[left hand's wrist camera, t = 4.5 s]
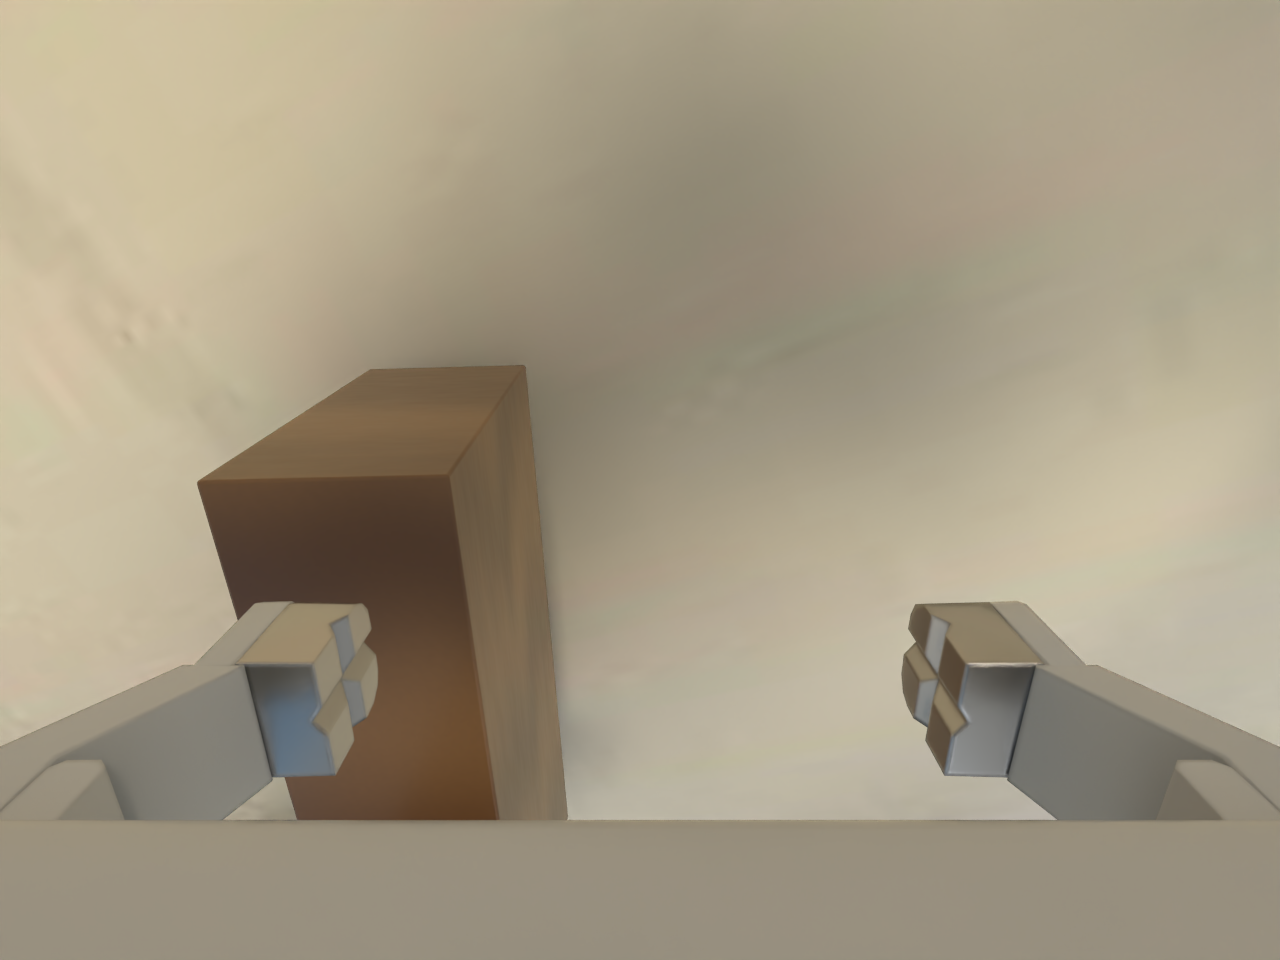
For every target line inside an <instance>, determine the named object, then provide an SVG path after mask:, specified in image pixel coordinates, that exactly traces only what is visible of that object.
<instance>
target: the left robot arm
mask: <svg viewBox="0 0 1280 960" xmlns="http://www.w3.org/2000/svg"><path fill="white" fill-rule="evenodd" d="M371 629H372V627H371V622H370V618H369V613H368V609H367V608H366V607H365V606H364V605H363V604H362V603H332V602H292V601H280V602H260V603H255V604H254V605H253V606H252V607H251V608H250V609H249V610H248V611H247V612H246V613H245V614H244V615H243V616H242V617H241V618H240V619H239V620H238V621H237V622H236V623H235V624H234V625H233V626H232V627H231V628H230V629H229V630H228V631H227V632H226V633H225V634H224V635H223V636H222V637H221V638H220V639H219V640H218V641H217V642H216V643H215V644H214V645H213V646H212V647H211V648H210V649H209V650H208V651H207V652H206V653H205V654H204V655H203V656H202V657H201V658H200V659H199V660H198V662H197V663H196V664H195V665H182V666H180V667H177V668H175V669H173V670H171V671H169V672H166V673H164V674H162V675H160V676H157V677H155V678H153V679H151V680H148V681H146V682H144V683H142V684H139V685H137V686H135V687H133V688H131V689H128V690H126V691H124V692H122V693H119V694H117V695H115V696H113V697H110V698H108V699H106V700H104V701H101V702H99V703H97V704H95V705H93V706H90V707H88V708H86V709H84V710H81V711H79V712H77V713H75V714H72V715H70V716H68V717H66V718H63V719H61V720H59V721H57V722H55V723H52V724H50V725H48V726H46V727H43V728H41V729H39V730H37V731H34V732H32V733H30V734H28V735H25V736H23V737H21V738H19V739H17V740H14V741H12V742H10V743H8V744H5V745H3V746H1V747H0V960H1280V747H1279V746H1276V745H1274V744H1272V743H1270V742H1267V741H1265V740H1263V739H1261V738H1259V737H1256V736H1254V735H1252V734H1250V733H1247V732H1245V731H1243V730H1241V729H1238V728H1236V727H1234V726H1232V725H1230V724H1227V723H1225V722H1223V721H1221V720H1218V719H1216V718H1214V717H1212V716H1209V715H1207V714H1205V713H1203V712H1201V711H1198V710H1196V709H1194V708H1192V707H1189V706H1187V705H1185V704H1183V703H1181V702H1178V701H1176V700H1174V699H1172V698H1169V697H1167V696H1165V695H1163V694H1160V693H1158V692H1156V691H1154V690H1152V689H1149V688H1147V687H1145V686H1143V685H1140V684H1138V683H1136V682H1134V681H1131V680H1129V679H1127V678H1125V677H1123V676H1120V675H1118V674H1116V673H1114V672H1111V671H1109V670H1107V669H1105V668H1102V667H1100V666H1098V665H1085V664H1084V663H1083V661H1082V660H1081V659H1080V658H1079V657H1078V656H1077V655H1076V654H1075V653H1074V652H1073V651H1072V650H1071V649H1070V648H1069V647H1068V646H1067V645H1066V644H1065V643H1064V642H1063V641H1062V640H1061V639H1060V638H1059V637H1058V636H1057V635H1056V634H1055V633H1054V632H1053V631H1052V630H1051V629H1050V628H1049V627H1048V626H1047V625H1046V624H1045V623H1044V622H1043V621H1042V620H1041V619H1040V618H1039V617H1038V616H1037V615H1036V614H1035V613H1034V612H1033V611H1032V610H1031V609H1030V608H1029V607H1028V606H1027V605H1026V604H1024V603H1021V602H1019V601H1005V602H977V603H937V604H915V606H914V608H913V611H912V613H911V616H910V621H909V627H908V629H909V631H910V633H911V634H912V636H913V637H914V639H915V641H916V642H915V644H914V645H913V646H912V647H911V648H910V649H909V650H908V651H907V652H906V653H905V654H904V658H903V666H902V673H901V674H902V685H903V694H904V697H905V700H906V704H907V706H908V708H909V710H910V712H911V714H912V716H913V718H914V719H916V720H917V721H919V722H920V723H922V724H923V725H925V726H926V727H928V728H927V734H926V740H925V741H926V742H927V744H928V746H929V748H930V750H931V752H932V753H933V755H934V757H935V759H936V761H937V763H938V764H939V766H940V768H941V770H942V772H943V774H944V775H945V776H977V777H1008V779H1007V780H1008V781H1009V782H1010V783H1011V784H1013V785H1014V786H1015V787H1017V788H1018V789H1019V790H1020V791H1022V792H1023V793H1024V794H1025V795H1027V796H1028V797H1029V798H1031V799H1032V800H1033V801H1034V802H1036V803H1037V804H1038V805H1039V806H1041V807H1042V808H1043V809H1044V810H1046V811H1047V812H1048V813H1050V814H1051V815H1052V816H1053V817H1055V818H1056V819H1057V820H223V819H224V818H226V817H227V816H228V815H229V814H231V813H232V812H233V811H234V810H236V809H237V808H238V807H240V806H241V805H242V804H243V803H245V802H246V801H247V800H248V799H250V798H251V797H252V796H254V795H255V794H256V793H257V792H259V791H260V790H261V789H262V788H264V787H265V786H266V785H268V784H269V783H270V782H271V781H272V780H273V779H272V777H302V776H336V774H337V772H338V770H339V768H340V766H341V765H342V763H343V761H344V759H345V757H346V755H347V753H348V752H349V750H350V748H351V746H352V744H353V742H354V741H355V740H354V734H353V729H352V727H354V726H355V725H357V724H358V723H360V722H361V721H363V720H364V719H366V718H367V716H368V714H369V712H370V710H371V708H372V706H373V704H374V700H375V696H376V691H377V687H378V664H377V657H376V654H375V653H374V652H373V651H372V650H371V649H370V648H369V647H368V646H367V645H366V644H365V643H364V641H365V639H366V637H367V636H368V634H369V633H370V631H371Z"/></svg>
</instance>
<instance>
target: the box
mask: <svg viewBox="0 0 1280 960" xmlns="http://www.w3.org/2000/svg"><path fill="white" fill-rule="evenodd" d="M197 485H198V489H199V492H200V495H201V499H202V502H203V506H204V509H205V512H206V516H207V519H208V522H209V526H210V529H211V532H212V536H213V539H214V542H215V546H216V549H217V552H218V556H219V559H220V562H221V566H222V569H223V572H224V576H225V579H226V583H227V586H228V589H229V593H230V596H231V599H232V603H233V606H234V609H235V613H236V616H237V619H238V620H239V619H240V618H241V617H242V616H243V615H244V614H245V613H246V612H247V611H248V610H249V609H250V608H251V607H252V606H253V605H254V604H255V603H260V602H280V601H292V602H332V603H362V604H363V605H364V606H365V607H366V608H367V609H368V613H369V618H370V622H371V627H372V629H371V631H370V633H369V634H368V636H367V637H366V639H365V641H364V643H365V644H366V645H367V646H368V647H369V648H370V649H371V650H372V651H373V652H374V653H375V654H376V657H377V664H378V687H377V691H376V696H375V700H374V704H373V706H372V708H371V710H370V712H369V714H368V716H367V718H366V719H364V720H363V721H361V722H360V723H358V724H357V725H355V726H354V727H352V729H353V734H354V740H355V741H354V742H353V744H352V746H351V748H350V750H349V752H348V753H347V755H346V757H345V759H344V761H343V763H342V765H341V766H340V768H339V770H338V772H337V774H336V776H302V777H285V780H286V783H287V787H288V790H289V794H290V797H291V800H292V804H293V807H294V810H295V814H296V817H297V820H567V818H568V813H567V802H566V792H565V781H564V771H563V760H562V749H561V739H560V728H559V718H558V707H557V696H556V686H555V675H554V665H553V654H552V643H551V633H550V622H549V612H548V601H547V590H546V580H545V569H544V559H543V548H542V537H541V527H540V516H539V506H538V495H537V484H536V474H535V463H534V453H533V442H532V431H531V421H530V410H529V400H528V389H527V378H526V368H525V366H523V365H515V366H478V367H441V368H404V369H370V370H369V371H367V372H365V373H364V374H362V375H361V376H359V377H358V378H356V379H355V380H353V381H352V382H350V383H348V384H347V385H345V386H344V387H342V388H341V389H339V390H338V391H336V392H335V393H333V394H332V395H330V396H328V397H327V398H325V399H324V400H322V401H321V402H319V403H318V404H316V405H315V406H313V407H311V408H310V409H308V410H307V411H305V412H304V413H302V414H301V415H299V416H298V417H296V418H294V419H293V420H291V421H290V422H288V423H287V424H285V425H284V426H282V427H281V428H279V429H278V430H276V431H274V432H273V433H271V434H270V435H268V436H267V437H265V438H264V439H262V440H261V441H259V442H257V443H256V444H254V445H253V446H251V447H250V448H248V449H247V450H245V451H244V452H242V453H241V454H239V455H237V456H236V457H234V458H233V459H231V460H230V461H228V462H227V463H225V464H224V465H222V466H220V467H219V468H217V469H216V470H214V471H213V472H211V473H210V474H208V475H207V476H205V477H203V478H202V479H200V480H199V481H198V482H197Z"/></svg>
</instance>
